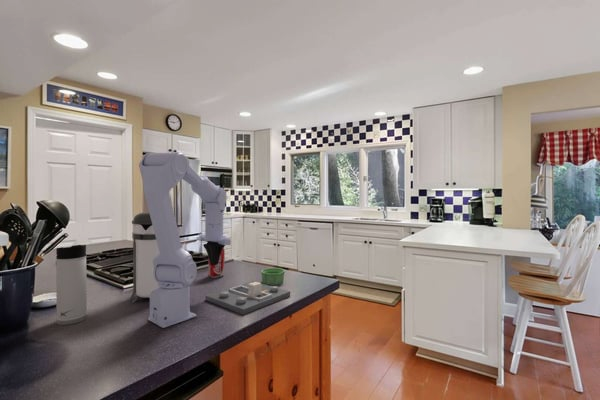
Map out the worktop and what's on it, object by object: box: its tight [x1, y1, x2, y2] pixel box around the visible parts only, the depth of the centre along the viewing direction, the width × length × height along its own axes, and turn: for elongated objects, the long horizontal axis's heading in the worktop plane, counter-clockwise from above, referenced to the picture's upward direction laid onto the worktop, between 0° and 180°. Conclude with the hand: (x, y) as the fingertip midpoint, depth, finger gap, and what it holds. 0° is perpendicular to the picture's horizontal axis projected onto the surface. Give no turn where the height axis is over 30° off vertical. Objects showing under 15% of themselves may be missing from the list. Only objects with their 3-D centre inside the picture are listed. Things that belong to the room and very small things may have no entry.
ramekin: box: [260, 267, 286, 286], centre depth 115 cm, size 9×9×4 cm
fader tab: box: [248, 281, 262, 296], centre depth 95 cm, size 3×2×4 cm
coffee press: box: [128, 211, 177, 304], centre depth 98 cm, size 17×16×30 cm
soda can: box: [207, 247, 226, 279], centre depth 122 cm, size 6×6×12 cm
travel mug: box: [55, 244, 88, 326], centre depth 78 cm, size 6×7×20 cm
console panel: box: [204, 281, 291, 316], centre depth 97 cm, size 20×18×3 cm
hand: (214, 264), depth 100 cm, fingers closed
